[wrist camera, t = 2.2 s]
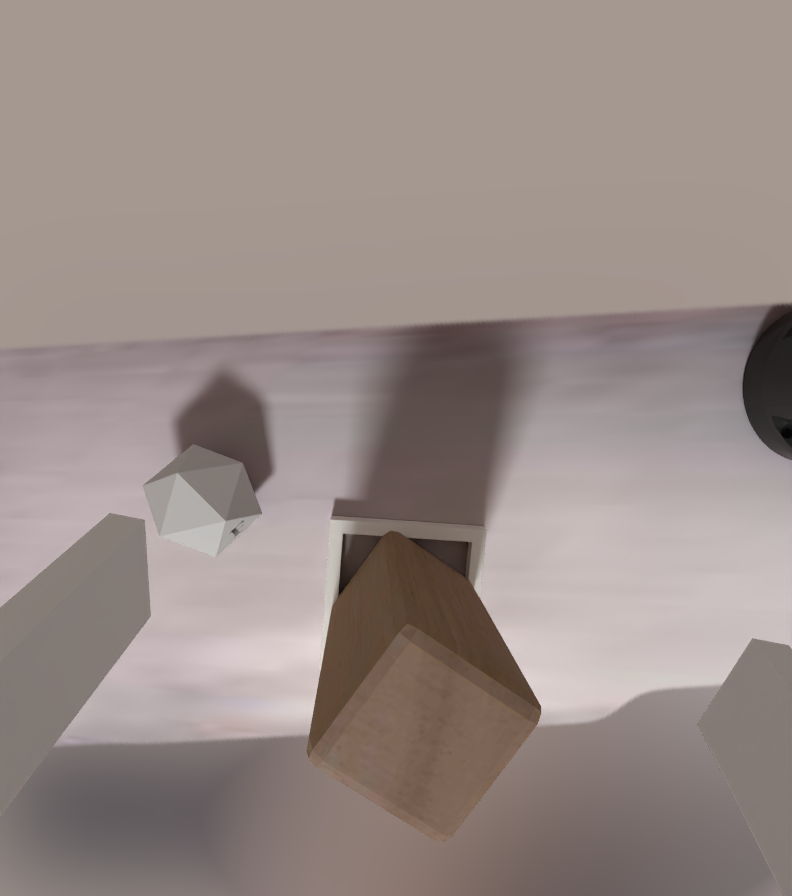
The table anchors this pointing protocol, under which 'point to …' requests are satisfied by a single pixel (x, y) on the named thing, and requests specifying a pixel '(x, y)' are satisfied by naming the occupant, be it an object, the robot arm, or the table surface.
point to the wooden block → (417, 690)
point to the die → (202, 500)
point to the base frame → (409, 530)
